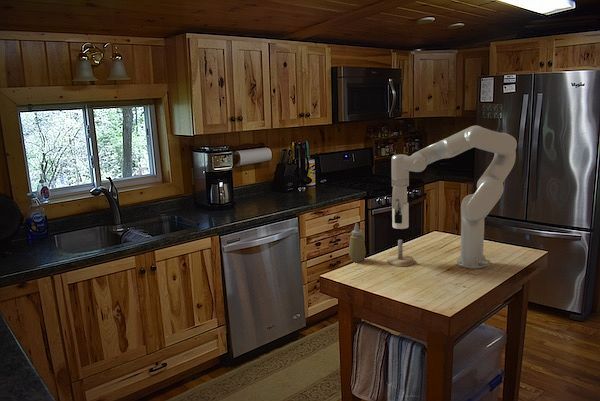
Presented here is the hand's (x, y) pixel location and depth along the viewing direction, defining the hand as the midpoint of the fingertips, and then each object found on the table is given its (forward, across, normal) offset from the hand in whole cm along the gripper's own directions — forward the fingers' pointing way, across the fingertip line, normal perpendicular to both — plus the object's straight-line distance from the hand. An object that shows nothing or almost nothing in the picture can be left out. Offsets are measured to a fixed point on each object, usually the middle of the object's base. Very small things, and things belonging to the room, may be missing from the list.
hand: (400, 220), depth 217 cm
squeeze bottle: (+20, +4, -20) cm, 28 cm away
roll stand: (+20, 0, 0) cm, 20 cm away
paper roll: (+3, 0, 0) cm, 3 cm away
